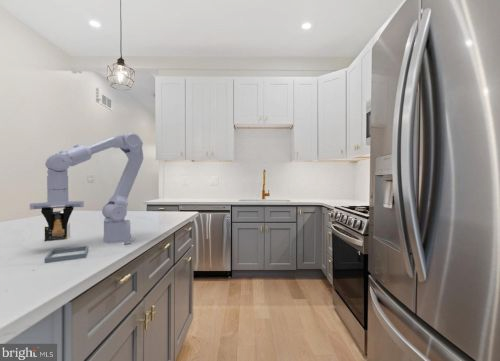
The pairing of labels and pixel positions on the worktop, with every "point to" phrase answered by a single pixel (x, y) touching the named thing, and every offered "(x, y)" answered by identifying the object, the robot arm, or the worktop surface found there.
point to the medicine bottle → (50, 238)
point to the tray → (67, 257)
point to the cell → (57, 224)
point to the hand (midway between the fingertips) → (58, 229)
